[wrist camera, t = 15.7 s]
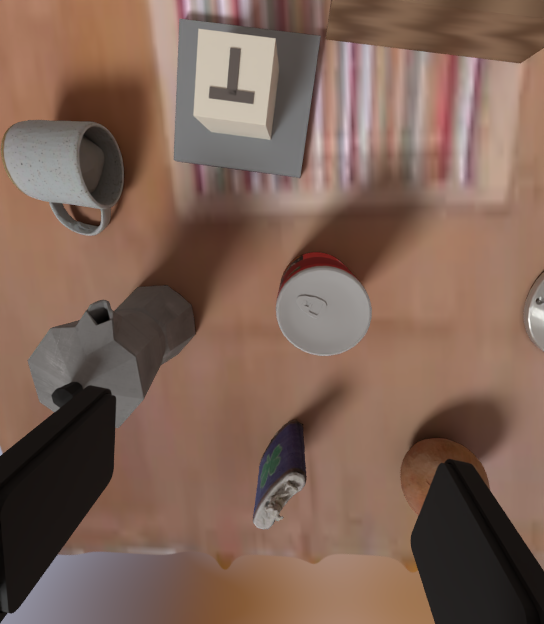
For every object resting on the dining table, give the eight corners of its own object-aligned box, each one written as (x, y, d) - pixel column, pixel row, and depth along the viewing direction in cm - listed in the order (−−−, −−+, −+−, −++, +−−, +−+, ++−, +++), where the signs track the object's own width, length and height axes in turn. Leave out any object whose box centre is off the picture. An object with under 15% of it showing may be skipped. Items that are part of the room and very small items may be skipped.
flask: (272, 474, 46) (265, 549, 36) (253, 464, 46) (241, 537, 36) (308, 425, 44) (312, 491, 33) (288, 414, 43) (286, 477, 33)
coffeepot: (133, 255, 39) (3, 291, 22) (211, 282, 39) (145, 339, 22) (108, 370, 43) (-15, 476, 26) (179, 393, 44) (103, 513, 26)
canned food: (287, 245, 37) (283, 259, 27) (359, 258, 37) (384, 276, 27) (275, 311, 40) (268, 347, 29) (343, 323, 39) (360, 364, 29)
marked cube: (279, 69, 32) (275, 37, 26) (270, 140, 33) (265, 125, 28) (215, 61, 32) (198, 28, 26) (210, 131, 34) (193, 115, 28)
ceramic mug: (46, 127, 35) (-19, 108, 28) (122, 131, 35) (76, 112, 28) (59, 231, 39) (4, 237, 31) (129, 236, 38) (90, 243, 31)
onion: (415, 417, 46) (445, 429, 36) (479, 461, 44) (530, 486, 34) (376, 477, 45) (397, 507, 35) (440, 525, 43) (481, 570, 33)
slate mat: (319, 41, 32) (320, 35, 31) (300, 177, 35) (300, 176, 34) (182, 24, 32) (179, 18, 31) (177, 161, 36) (173, 160, 35)
